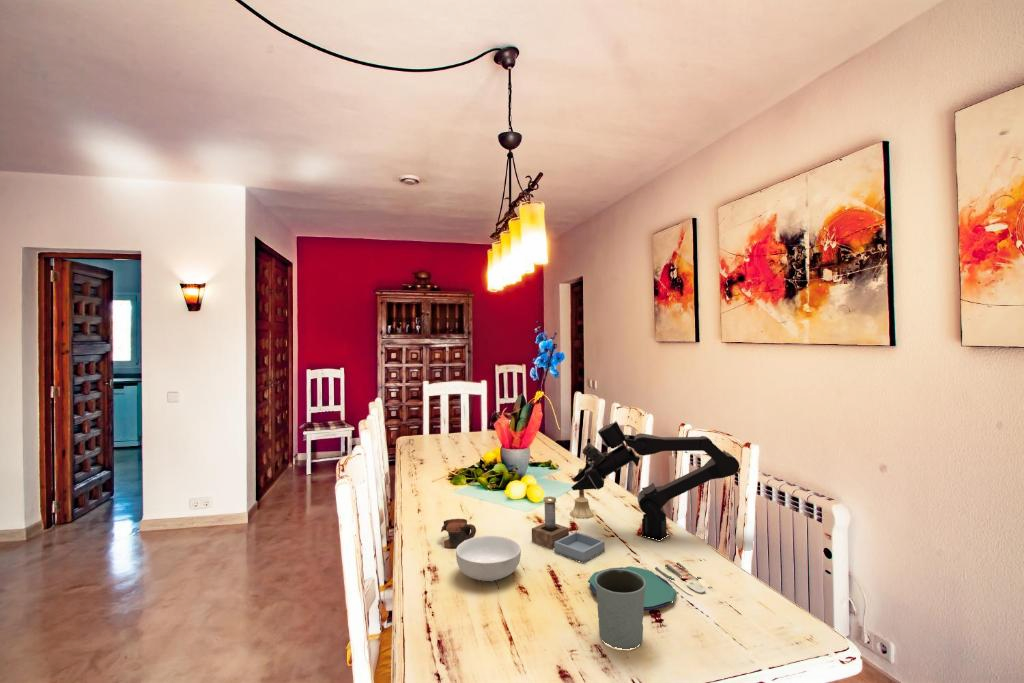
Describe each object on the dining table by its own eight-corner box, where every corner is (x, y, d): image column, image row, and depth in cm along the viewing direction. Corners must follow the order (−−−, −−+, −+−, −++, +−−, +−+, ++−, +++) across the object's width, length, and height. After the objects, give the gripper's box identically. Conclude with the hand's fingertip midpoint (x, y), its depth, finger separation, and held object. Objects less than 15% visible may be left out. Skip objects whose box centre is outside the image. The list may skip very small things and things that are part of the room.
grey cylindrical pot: (638, 623, 105) (637, 567, 105) (653, 653, 95) (652, 591, 95) (591, 625, 104) (590, 569, 104) (601, 655, 94) (600, 593, 94)
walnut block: (569, 541, 148) (568, 527, 148) (551, 549, 143) (551, 535, 143) (549, 534, 154) (548, 521, 154) (531, 541, 148) (531, 528, 148)
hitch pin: (559, 541, 148) (558, 498, 148) (551, 545, 146) (550, 501, 146) (549, 537, 151) (549, 495, 151) (541, 541, 148) (540, 498, 148)
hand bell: (595, 518, 167) (594, 471, 167) (571, 518, 167) (570, 472, 167) (592, 510, 175) (591, 465, 175) (568, 510, 175) (568, 466, 175)
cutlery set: (575, 581, 124) (575, 572, 124) (675, 564, 133) (675, 556, 133) (616, 624, 105) (616, 614, 105) (729, 601, 114) (729, 592, 114)
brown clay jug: (434, 549, 145) (434, 520, 149) (451, 552, 153) (451, 524, 157) (470, 544, 141) (469, 514, 145) (485, 547, 149) (484, 519, 153)
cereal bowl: (462, 595, 117) (461, 566, 117) (451, 565, 134) (451, 539, 134) (529, 585, 122) (528, 556, 122) (511, 557, 138) (511, 532, 138)
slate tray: (604, 551, 140) (604, 541, 140) (583, 563, 133) (583, 552, 133) (576, 541, 148) (576, 531, 148) (554, 552, 140) (554, 542, 140)
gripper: (600, 432, 163) (561, 455, 165) (601, 444, 145) (556, 470, 147) (619, 461, 162) (579, 484, 164) (622, 476, 144) (576, 502, 146)
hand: (572, 484), depth 155 cm, fingers open, 9 cm apart
